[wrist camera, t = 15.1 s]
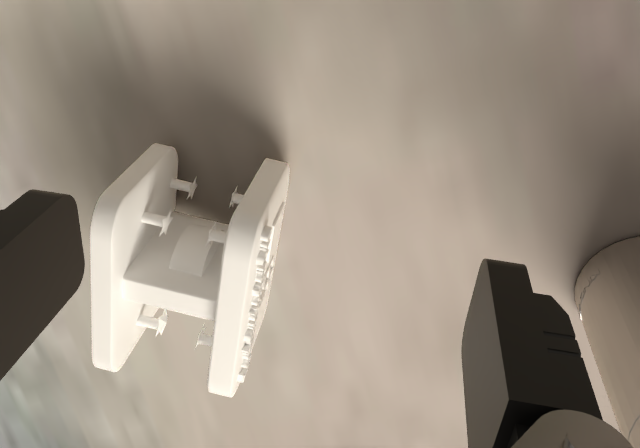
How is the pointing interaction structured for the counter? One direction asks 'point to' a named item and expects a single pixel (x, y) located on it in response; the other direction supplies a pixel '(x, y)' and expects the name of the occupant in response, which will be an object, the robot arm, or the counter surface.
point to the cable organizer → (183, 264)
